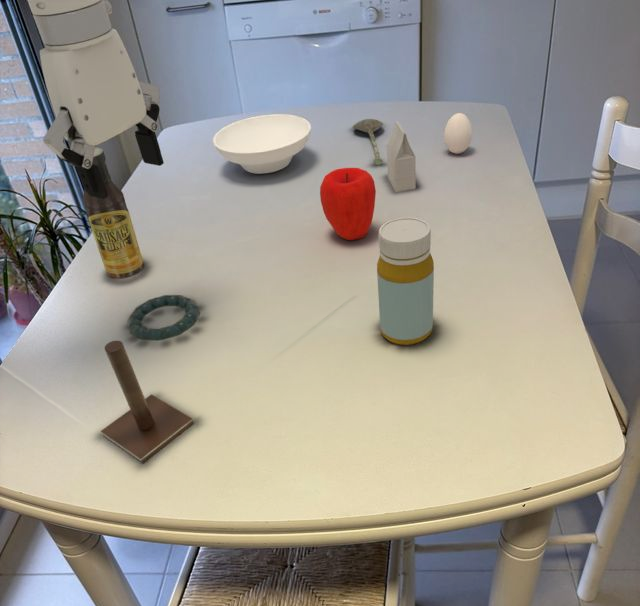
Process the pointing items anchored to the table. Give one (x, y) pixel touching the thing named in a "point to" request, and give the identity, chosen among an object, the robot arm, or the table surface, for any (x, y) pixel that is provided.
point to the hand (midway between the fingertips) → (127, 179)
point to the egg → (458, 133)
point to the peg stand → (141, 412)
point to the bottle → (405, 280)
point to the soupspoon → (371, 134)
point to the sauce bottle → (113, 226)
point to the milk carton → (400, 161)
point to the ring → (169, 331)
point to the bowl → (263, 141)
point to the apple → (348, 201)
